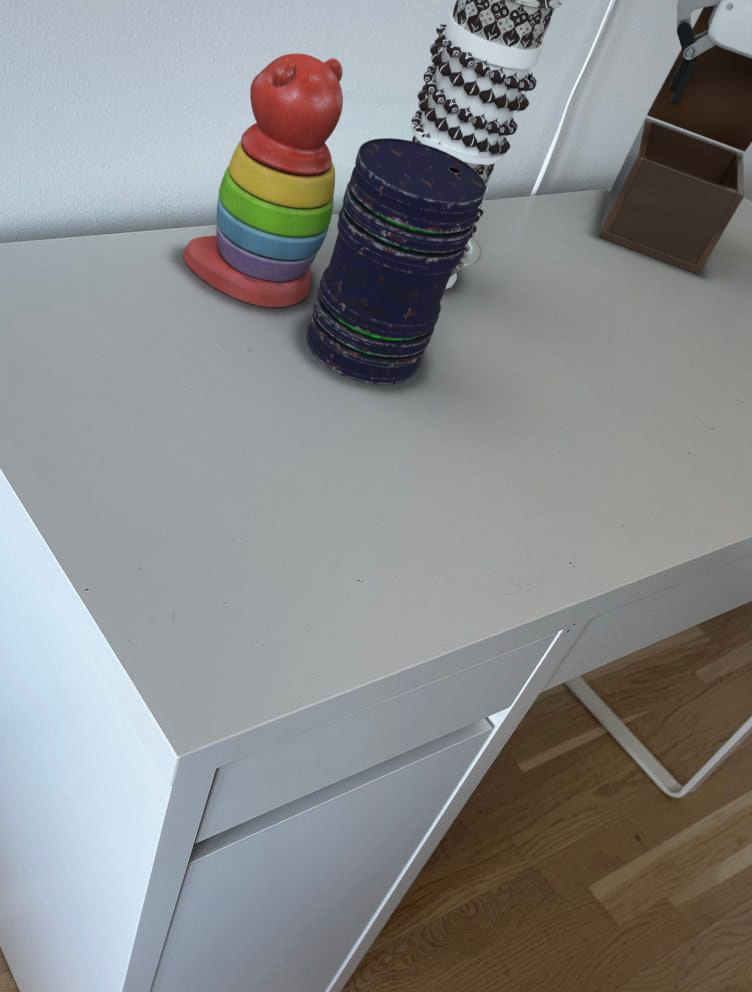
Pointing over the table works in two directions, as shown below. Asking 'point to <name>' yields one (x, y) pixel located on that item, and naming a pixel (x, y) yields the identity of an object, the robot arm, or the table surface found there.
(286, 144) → the stacking bear
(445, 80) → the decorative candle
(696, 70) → the lid
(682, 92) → the robot arm
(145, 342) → the table surface
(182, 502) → the table surface
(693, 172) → the chest
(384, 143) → the storage jar
